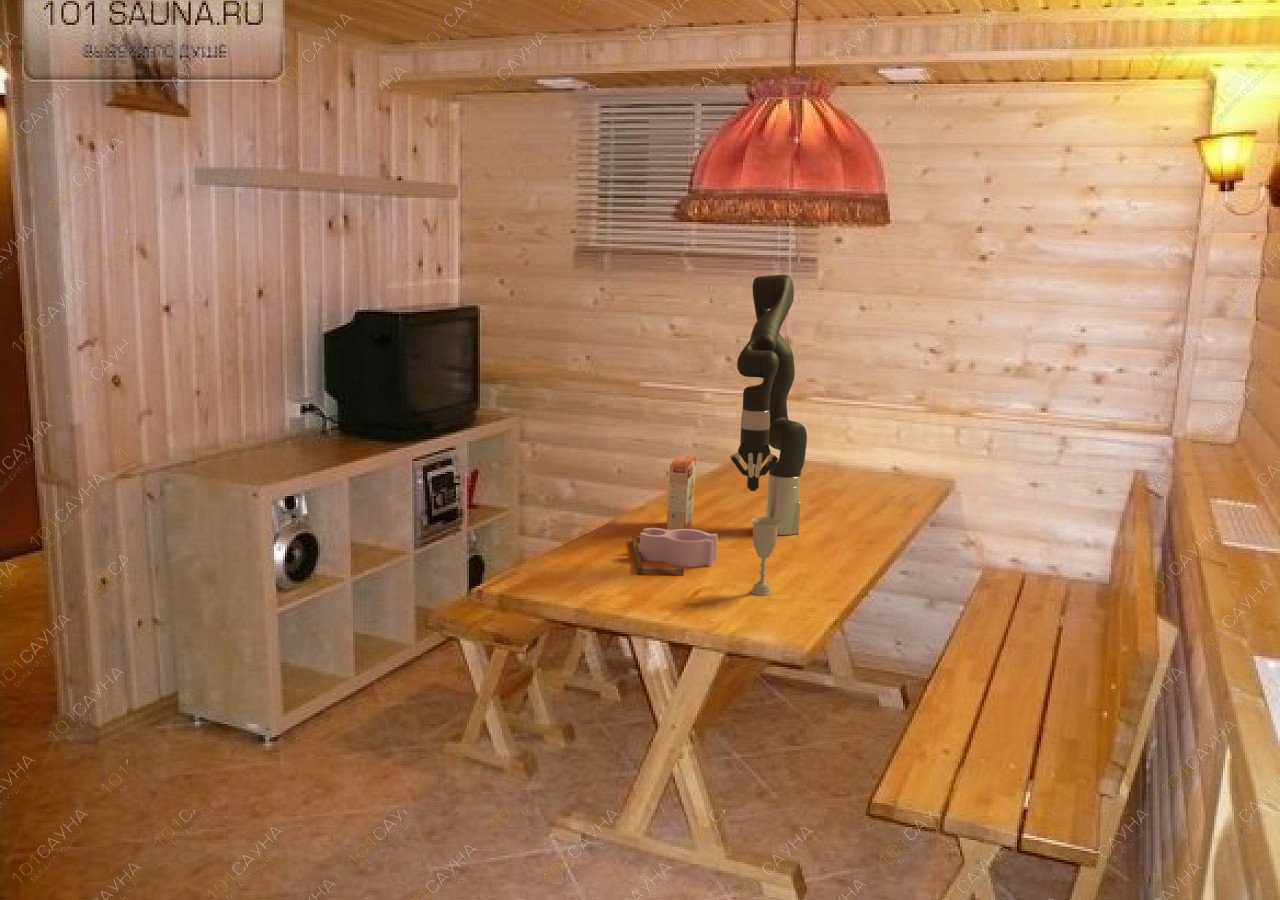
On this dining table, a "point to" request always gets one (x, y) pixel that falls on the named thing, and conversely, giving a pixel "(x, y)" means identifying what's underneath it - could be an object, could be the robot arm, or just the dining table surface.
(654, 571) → the walnut frame
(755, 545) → the chalice
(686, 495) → the cracker box
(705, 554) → the clip
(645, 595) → the dining table surface
